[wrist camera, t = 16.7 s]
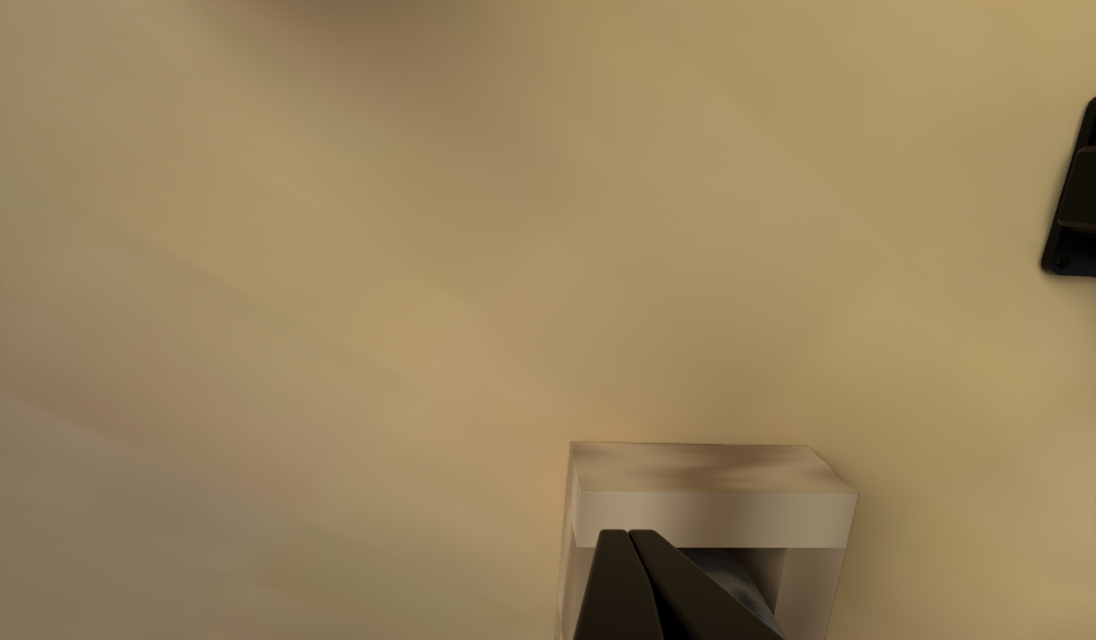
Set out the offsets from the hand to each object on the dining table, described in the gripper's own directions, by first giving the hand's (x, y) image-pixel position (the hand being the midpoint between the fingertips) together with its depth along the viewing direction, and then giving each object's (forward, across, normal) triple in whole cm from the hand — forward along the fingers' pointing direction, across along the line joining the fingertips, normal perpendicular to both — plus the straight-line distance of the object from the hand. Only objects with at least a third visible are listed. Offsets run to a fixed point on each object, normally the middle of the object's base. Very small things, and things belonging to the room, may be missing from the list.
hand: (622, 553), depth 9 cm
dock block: (+13, -6, +10) cm, 17 cm away
